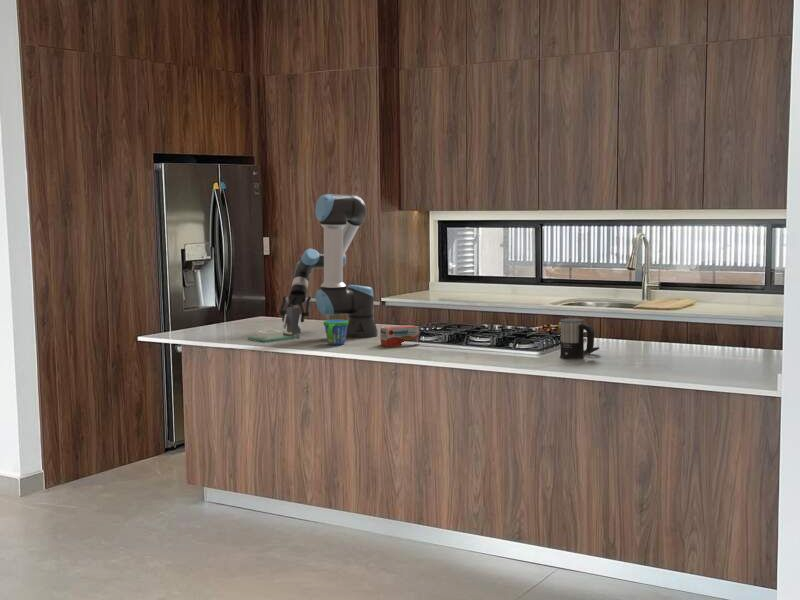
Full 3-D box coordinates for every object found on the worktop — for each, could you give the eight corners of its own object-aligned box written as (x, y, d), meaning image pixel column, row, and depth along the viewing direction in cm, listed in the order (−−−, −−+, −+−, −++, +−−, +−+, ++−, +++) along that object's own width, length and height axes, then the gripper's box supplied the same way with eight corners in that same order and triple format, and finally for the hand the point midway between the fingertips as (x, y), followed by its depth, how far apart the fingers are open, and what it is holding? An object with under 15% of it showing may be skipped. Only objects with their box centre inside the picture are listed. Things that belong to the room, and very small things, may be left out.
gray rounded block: (300, 333, 446) (299, 307, 445) (292, 334, 443) (292, 308, 442) (294, 332, 449) (294, 306, 448) (286, 333, 446) (286, 307, 445)
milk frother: (557, 358, 372) (557, 320, 371) (565, 352, 387) (565, 316, 385) (594, 360, 367) (594, 322, 365) (600, 354, 382) (601, 317, 380)
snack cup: (339, 347, 407) (339, 323, 406) (317, 346, 411) (316, 322, 410) (354, 342, 421) (354, 319, 420) (333, 341, 425) (332, 318, 424)
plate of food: (584, 328, 457) (584, 316, 457) (598, 336, 430) (598, 323, 429) (526, 331, 456) (525, 319, 456) (536, 339, 429) (535, 326, 428)
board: (299, 338, 435) (298, 330, 434) (265, 342, 423) (265, 334, 422) (281, 335, 445) (280, 327, 445) (248, 339, 433) (247, 331, 433)
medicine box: (412, 342, 419) (412, 324, 418) (420, 345, 411) (419, 326, 410) (380, 345, 413) (379, 326, 412) (387, 347, 405) (386, 329, 405)
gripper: (320, 293, 458) (313, 332, 444) (281, 293, 461) (273, 331, 446) (317, 283, 452) (310, 321, 438) (277, 283, 455) (269, 321, 441)
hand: (291, 326), depth 442 cm, fingers closed on gray rounded block, 6 cm apart
